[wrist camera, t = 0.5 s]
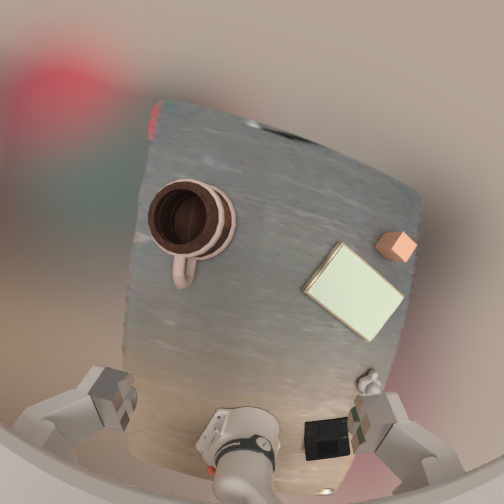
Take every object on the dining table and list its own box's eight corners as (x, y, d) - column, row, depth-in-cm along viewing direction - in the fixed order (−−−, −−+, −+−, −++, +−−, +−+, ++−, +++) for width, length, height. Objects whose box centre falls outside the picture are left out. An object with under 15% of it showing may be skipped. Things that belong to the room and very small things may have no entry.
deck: (364, 337, 57) (370, 343, 53) (301, 289, 58) (304, 292, 54) (398, 293, 57) (405, 297, 53) (338, 241, 57) (343, 241, 53)
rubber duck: (352, 390, 58) (362, 408, 50) (360, 365, 58) (371, 381, 50) (373, 391, 58) (384, 408, 50) (381, 367, 57) (394, 381, 49)
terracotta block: (387, 259, 56) (405, 262, 47) (374, 247, 57) (391, 248, 48) (397, 244, 56) (417, 245, 47) (384, 232, 56) (402, 231, 47)
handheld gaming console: (349, 413, 57) (353, 452, 49) (349, 420, 61) (352, 455, 53) (301, 420, 59) (302, 459, 51) (304, 427, 63) (306, 462, 56)
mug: (171, 183, 58) (143, 166, 43) (242, 189, 58) (234, 172, 43) (160, 277, 59) (128, 287, 44) (229, 288, 58) (217, 303, 43)
